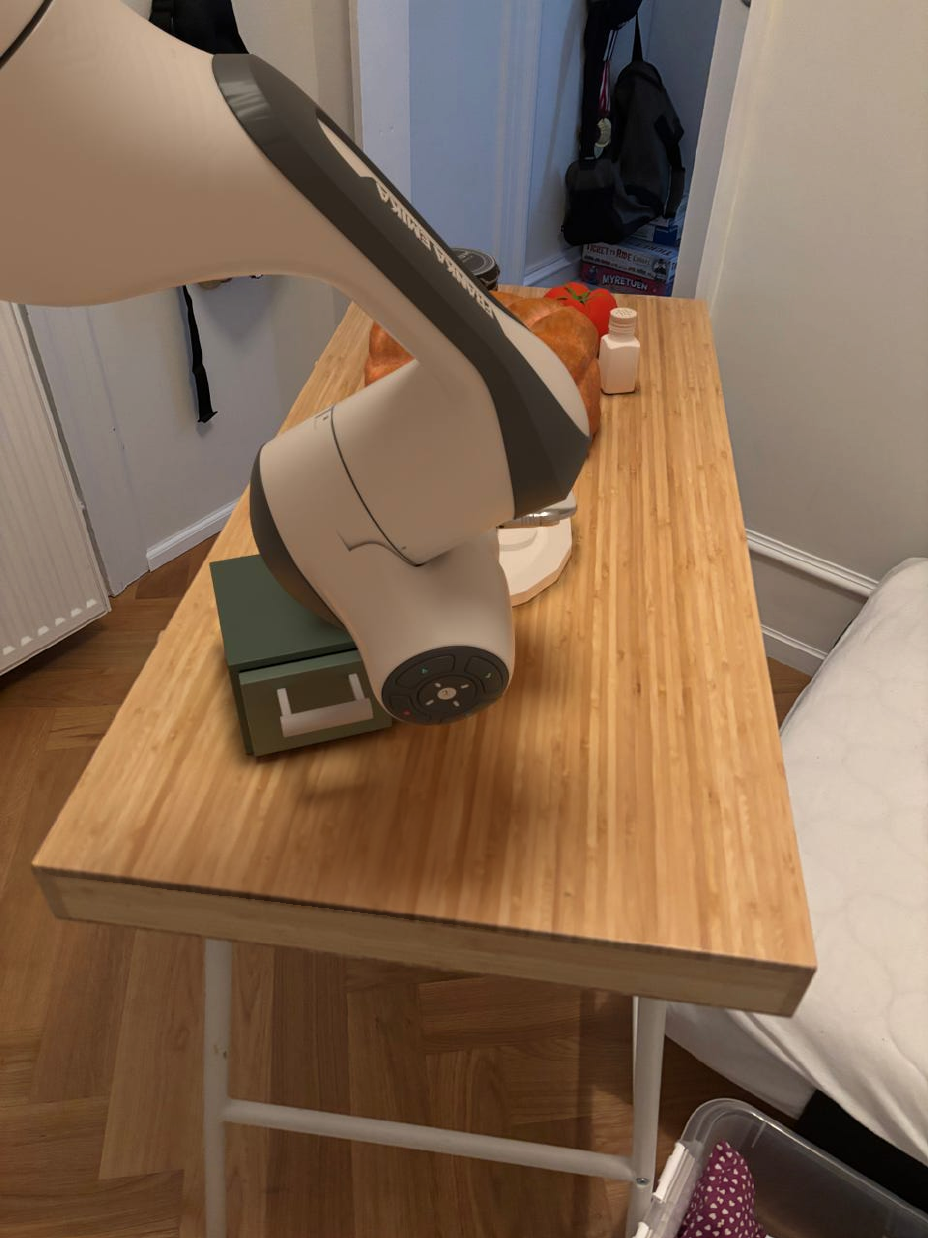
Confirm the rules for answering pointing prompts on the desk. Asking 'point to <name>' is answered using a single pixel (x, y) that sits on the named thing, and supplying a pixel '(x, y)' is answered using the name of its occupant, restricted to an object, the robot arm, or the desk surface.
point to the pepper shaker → (619, 352)
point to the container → (480, 266)
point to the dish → (533, 558)
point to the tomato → (587, 304)
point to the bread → (546, 320)
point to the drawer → (310, 701)
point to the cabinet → (265, 625)
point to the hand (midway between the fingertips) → (416, 428)
